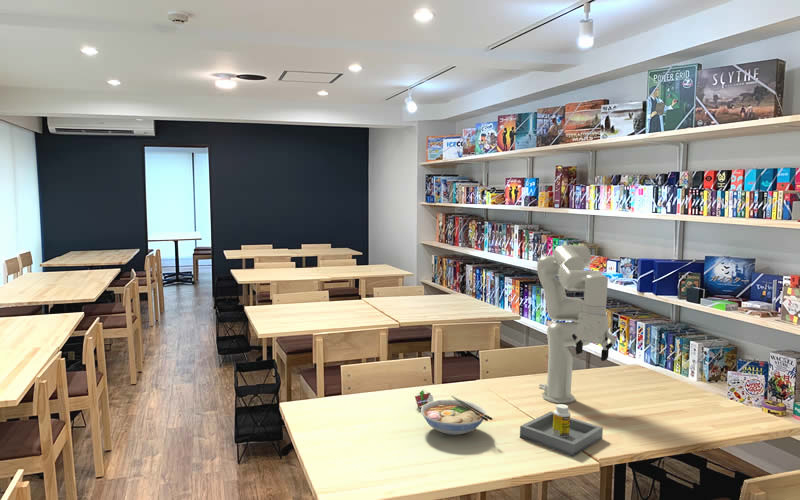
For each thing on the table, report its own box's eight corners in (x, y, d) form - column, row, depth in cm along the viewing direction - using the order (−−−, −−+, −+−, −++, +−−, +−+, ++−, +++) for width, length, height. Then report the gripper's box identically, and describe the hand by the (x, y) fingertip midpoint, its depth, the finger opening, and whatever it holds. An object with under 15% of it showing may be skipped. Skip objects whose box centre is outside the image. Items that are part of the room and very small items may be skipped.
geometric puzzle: (408, 403, 224) (420, 388, 222) (414, 397, 230) (426, 383, 228) (421, 416, 222) (434, 402, 220) (427, 410, 229) (439, 396, 226)
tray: (519, 437, 199) (520, 426, 199) (550, 422, 214) (550, 411, 213) (573, 456, 185) (573, 444, 185) (602, 438, 199) (602, 427, 199)
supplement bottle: (561, 439, 196) (563, 410, 195) (549, 433, 200) (550, 405, 199) (572, 436, 199) (574, 407, 198) (559, 430, 203) (561, 402, 202)
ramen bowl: (408, 422, 210) (408, 400, 210) (463, 414, 220) (464, 393, 219) (439, 450, 188) (440, 426, 187) (500, 440, 197) (501, 416, 196)
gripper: (566, 306, 208) (564, 353, 210) (612, 315, 195) (609, 365, 197) (578, 303, 213) (575, 349, 215) (623, 312, 200) (619, 360, 202)
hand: (591, 356), depth 206 cm, fingers open, 9 cm apart
